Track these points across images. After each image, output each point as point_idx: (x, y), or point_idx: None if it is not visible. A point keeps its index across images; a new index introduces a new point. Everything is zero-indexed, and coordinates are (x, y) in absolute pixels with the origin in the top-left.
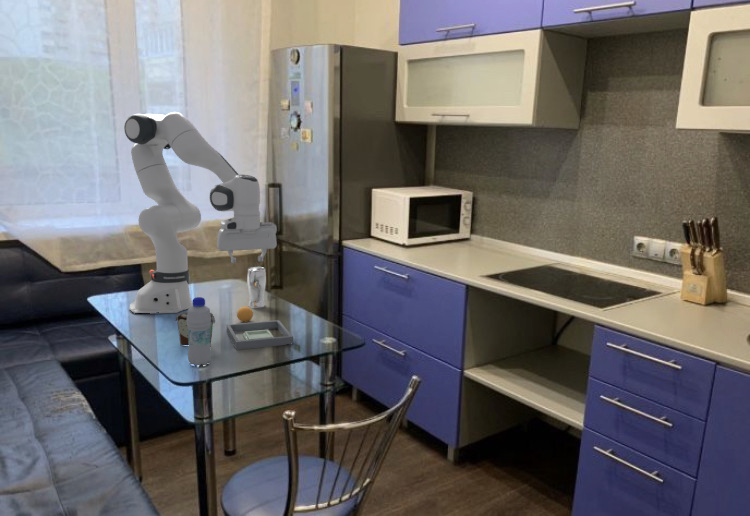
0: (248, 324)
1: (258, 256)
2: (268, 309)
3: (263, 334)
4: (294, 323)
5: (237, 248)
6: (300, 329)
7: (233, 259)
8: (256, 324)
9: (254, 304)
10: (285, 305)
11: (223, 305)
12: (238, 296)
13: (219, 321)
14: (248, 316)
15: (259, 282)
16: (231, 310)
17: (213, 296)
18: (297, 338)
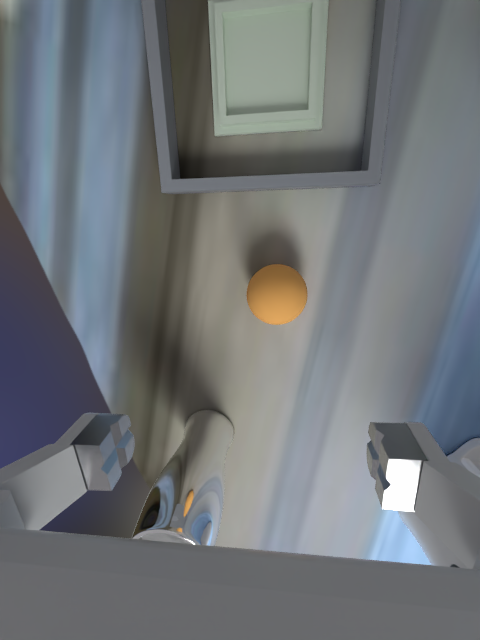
0: (288, 174)
1: (108, 476)
2: (179, 391)
3: (244, 92)
4: (114, 223)
5: (462, 605)
6: (99, 143)
7: (424, 448)
8: (255, 176)
9: (217, 422)
10: (123, 413)
11: (306, 466)
12: (245, 526)
13: (362, 315)
14: (269, 265)
15: (177, 477)
16: (293, 414)
17: (314, 546)
18: (120, 20)
